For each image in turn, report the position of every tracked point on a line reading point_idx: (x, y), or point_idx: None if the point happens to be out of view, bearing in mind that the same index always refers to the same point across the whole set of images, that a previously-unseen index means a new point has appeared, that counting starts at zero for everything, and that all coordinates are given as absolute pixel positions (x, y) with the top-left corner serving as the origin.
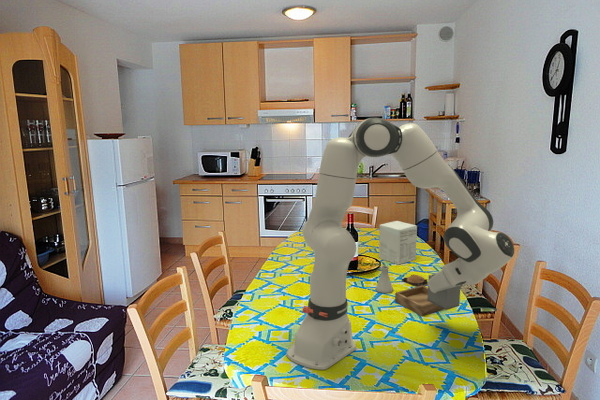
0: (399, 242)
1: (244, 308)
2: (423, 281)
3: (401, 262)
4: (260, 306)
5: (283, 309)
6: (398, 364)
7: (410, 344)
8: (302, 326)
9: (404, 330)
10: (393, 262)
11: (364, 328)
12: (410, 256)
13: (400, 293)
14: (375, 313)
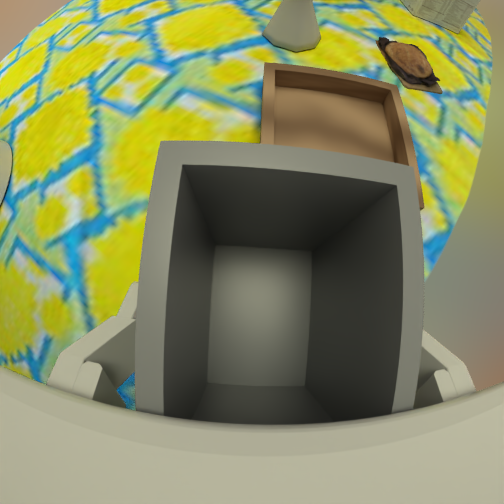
0: None
1: (19, 44)
2: (423, 76)
3: (422, 16)
4: (33, 40)
5: (39, 52)
6: (7, 361)
7: (71, 324)
8: None
9: (116, 248)
10: (407, 6)
11: (50, 173)
12: (449, 20)
13: (281, 72)
14: (140, 113)
